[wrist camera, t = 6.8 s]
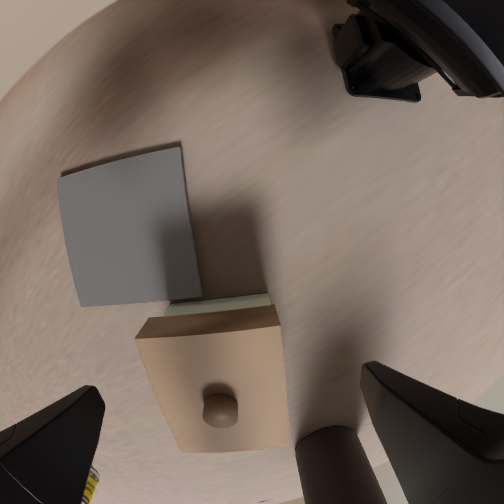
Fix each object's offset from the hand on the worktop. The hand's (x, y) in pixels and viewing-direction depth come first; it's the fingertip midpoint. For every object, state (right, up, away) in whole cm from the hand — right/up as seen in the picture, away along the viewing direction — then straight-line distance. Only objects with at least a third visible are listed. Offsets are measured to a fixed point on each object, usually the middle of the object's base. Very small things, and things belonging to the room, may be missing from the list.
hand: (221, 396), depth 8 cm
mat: (-8, +6, +10) cm, 14 cm away
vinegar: (+9, -16, +16) cm, 24 cm away
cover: (-1, -3, +8) cm, 9 cm away
